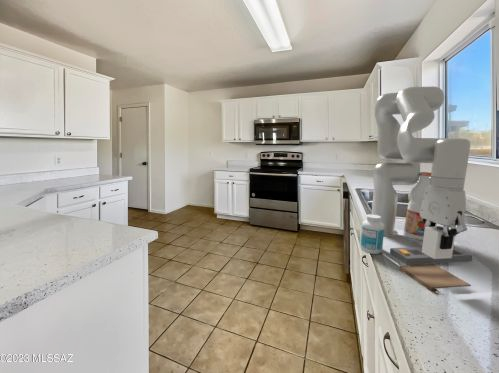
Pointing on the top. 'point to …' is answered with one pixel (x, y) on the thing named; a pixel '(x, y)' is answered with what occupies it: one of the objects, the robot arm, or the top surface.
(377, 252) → the pill bottle
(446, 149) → the robot arm
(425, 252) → the block
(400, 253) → the power strip
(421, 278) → the walnut mat
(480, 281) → the top surface
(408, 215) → the fruit juice
